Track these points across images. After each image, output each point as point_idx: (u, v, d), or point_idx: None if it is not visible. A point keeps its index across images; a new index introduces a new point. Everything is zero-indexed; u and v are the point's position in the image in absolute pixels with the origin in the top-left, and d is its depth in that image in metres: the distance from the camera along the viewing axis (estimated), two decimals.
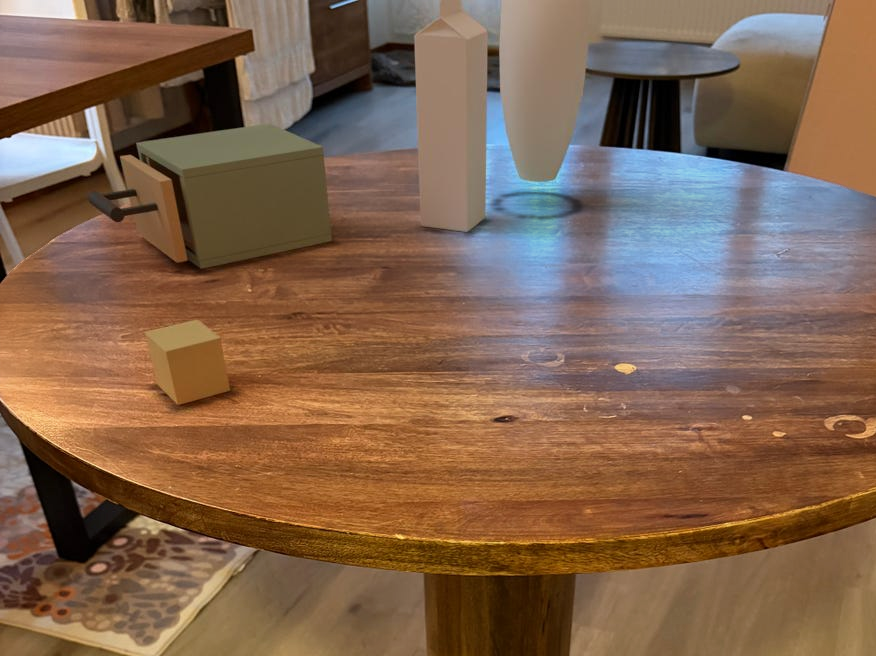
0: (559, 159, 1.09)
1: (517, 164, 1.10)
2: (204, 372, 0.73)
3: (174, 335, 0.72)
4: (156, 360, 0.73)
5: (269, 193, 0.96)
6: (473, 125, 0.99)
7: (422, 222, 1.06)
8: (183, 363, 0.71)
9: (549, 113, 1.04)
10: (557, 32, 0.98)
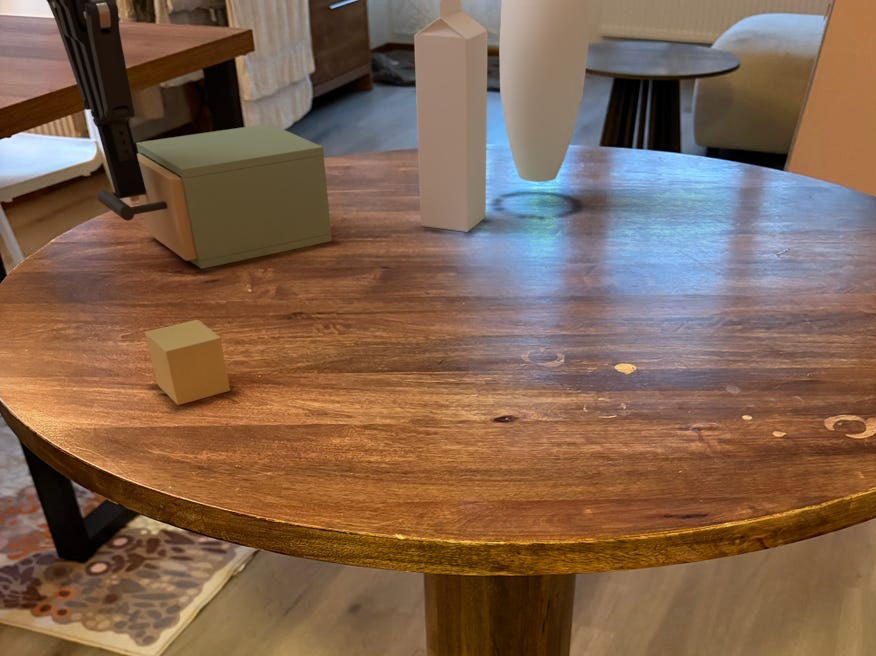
0: (559, 159, 1.09)
1: (517, 164, 1.10)
2: (204, 372, 0.73)
3: (174, 335, 0.72)
4: (156, 360, 0.73)
5: (269, 193, 0.96)
6: (473, 125, 0.99)
7: (422, 222, 1.06)
8: (183, 363, 0.71)
9: (549, 113, 1.04)
10: (557, 32, 0.98)
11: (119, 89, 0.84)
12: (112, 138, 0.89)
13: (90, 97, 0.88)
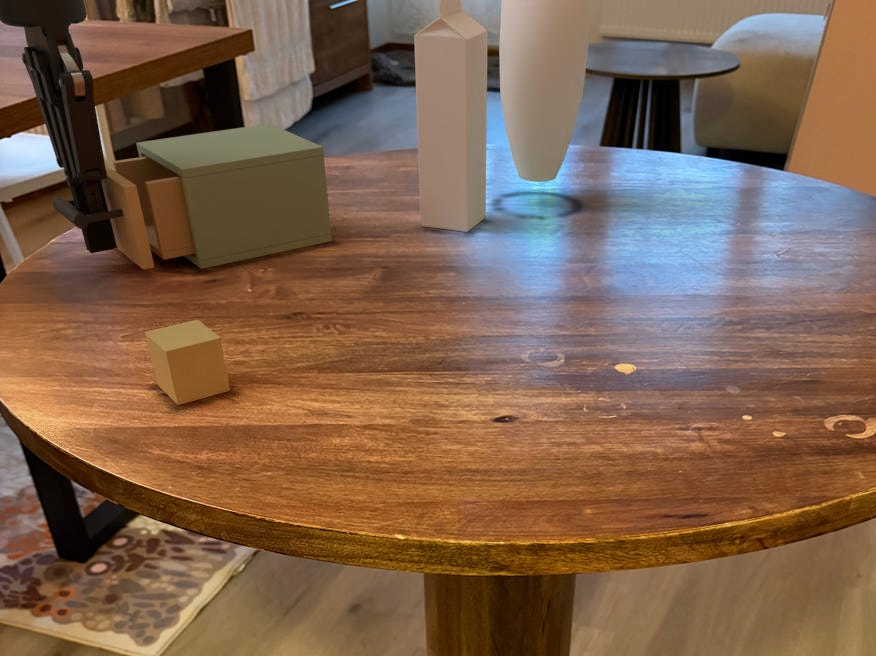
0: (559, 159, 1.09)
1: (517, 164, 1.10)
2: (204, 372, 0.73)
3: (174, 335, 0.72)
4: (156, 360, 0.73)
5: (269, 193, 0.96)
6: (473, 125, 0.99)
7: (422, 222, 1.06)
8: (183, 363, 0.71)
9: (549, 113, 1.04)
10: (557, 32, 0.98)
11: (92, 153, 0.86)
12: (84, 197, 0.90)
13: (64, 157, 0.89)
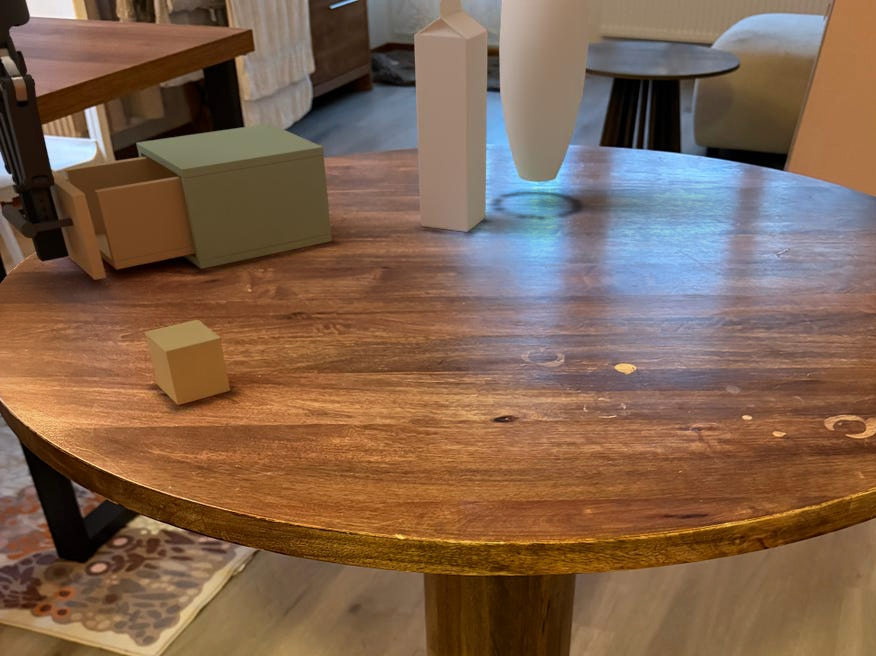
0: (559, 159, 1.09)
1: (517, 164, 1.10)
2: (204, 372, 0.73)
3: (174, 335, 0.72)
4: (156, 360, 0.73)
5: (269, 193, 0.96)
6: (473, 125, 0.99)
7: (422, 222, 1.06)
8: (183, 363, 0.71)
9: (549, 113, 1.04)
10: (557, 32, 0.98)
11: (38, 159, 0.84)
12: (33, 204, 0.88)
13: (11, 163, 0.87)
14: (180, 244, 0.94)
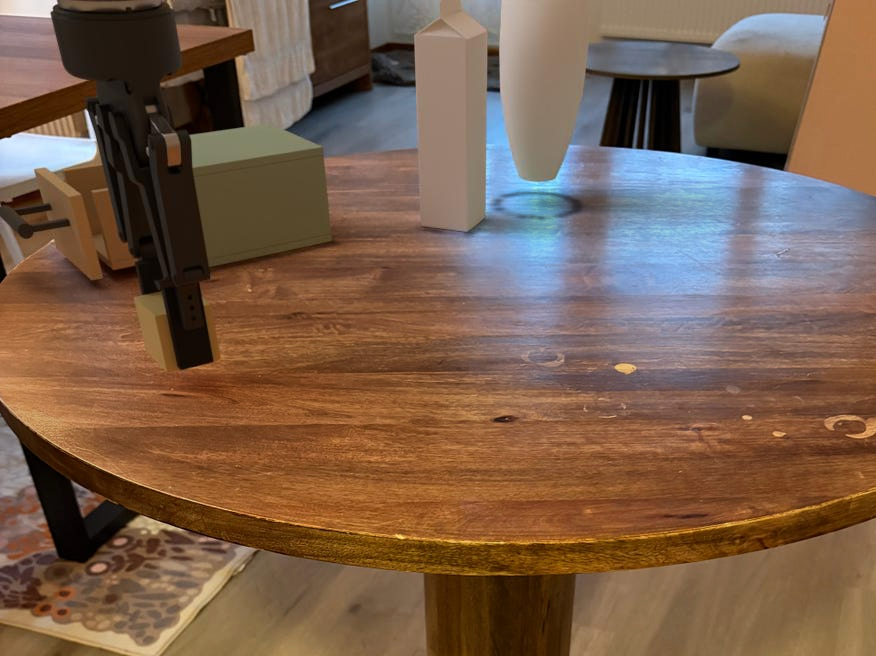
0: (559, 159, 1.09)
1: (517, 164, 1.10)
2: None
3: None
4: (145, 326, 0.71)
5: (269, 193, 0.96)
6: (473, 125, 0.99)
7: (422, 222, 1.06)
8: None
9: (549, 113, 1.04)
10: (557, 32, 0.98)
11: (191, 244, 0.63)
12: (177, 301, 0.68)
13: (131, 235, 0.69)
14: None
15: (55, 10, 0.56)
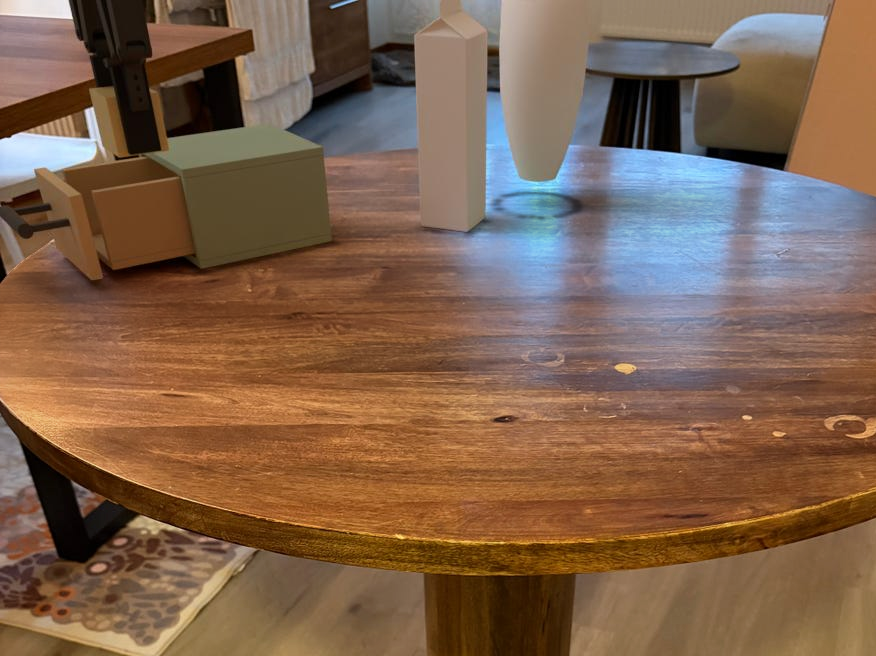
0: (559, 159, 1.09)
1: (517, 164, 1.10)
2: None
3: None
4: (99, 115, 0.79)
5: (269, 193, 0.96)
6: (473, 125, 0.99)
7: (422, 222, 1.06)
8: None
9: (549, 113, 1.04)
10: (557, 32, 0.98)
11: (133, 18, 0.71)
12: (124, 83, 0.75)
13: (85, 27, 0.76)
14: (177, 245, 0.94)
15: None
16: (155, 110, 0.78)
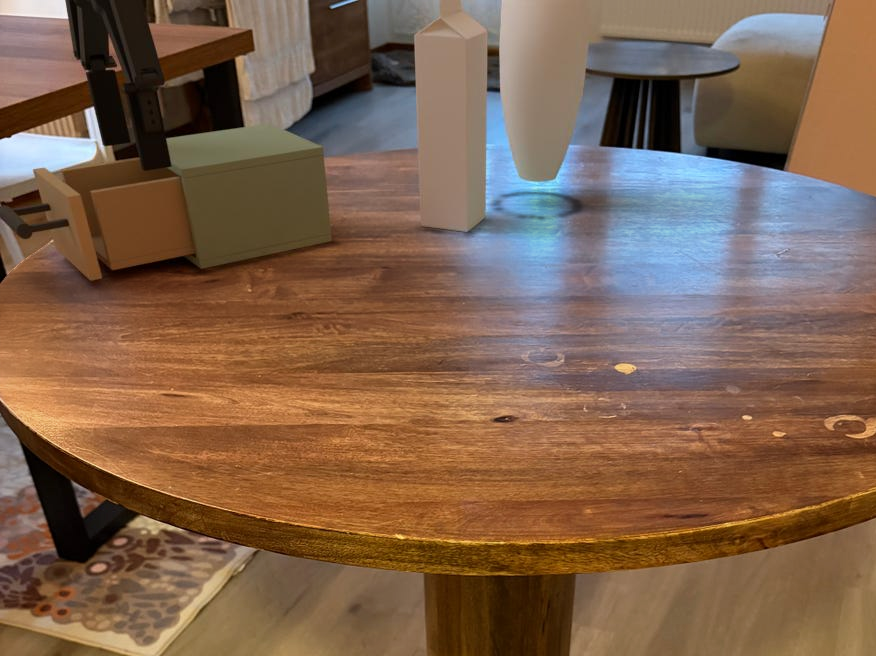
0: (559, 159, 1.09)
1: (517, 164, 1.10)
2: None
3: None
4: None
5: (269, 193, 0.96)
6: (473, 125, 0.99)
7: (422, 222, 1.06)
8: None
9: (549, 113, 1.04)
10: (557, 32, 0.98)
11: (144, 49, 0.80)
12: (139, 107, 0.84)
13: (84, 53, 0.89)
14: (176, 245, 0.94)
15: None
16: None
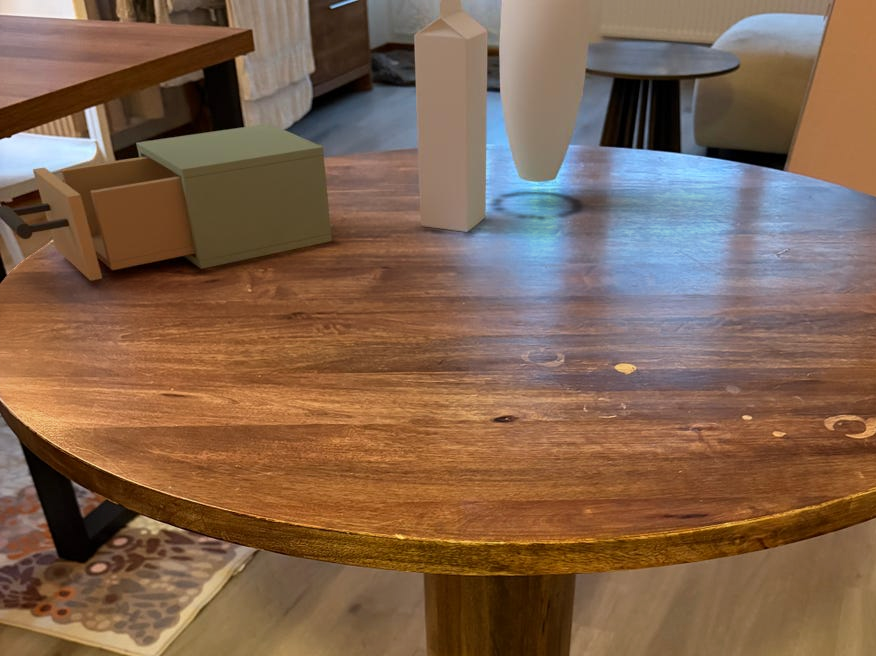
0: (559, 159, 1.09)
1: (517, 164, 1.10)
2: None
3: None
4: None
5: (269, 193, 0.96)
6: (473, 125, 0.99)
7: (422, 222, 1.06)
8: None
9: (549, 113, 1.04)
10: (557, 32, 0.98)
11: None
12: None
13: None
14: (176, 245, 0.94)
15: None
16: None
